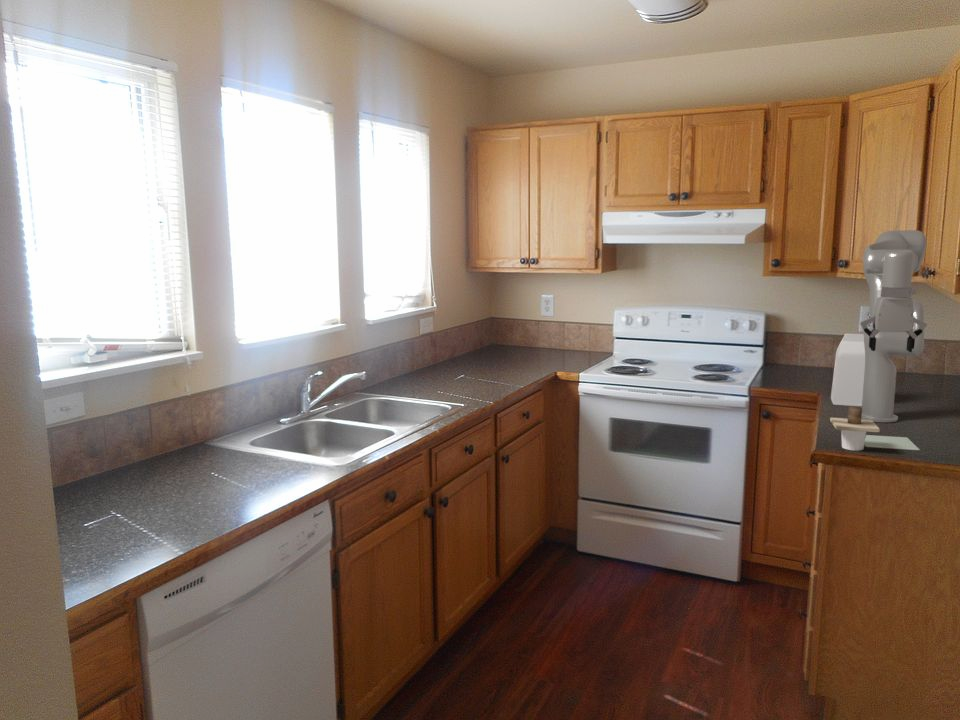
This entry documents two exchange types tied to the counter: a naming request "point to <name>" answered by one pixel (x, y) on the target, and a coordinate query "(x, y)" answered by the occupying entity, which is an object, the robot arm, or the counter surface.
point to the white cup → (853, 439)
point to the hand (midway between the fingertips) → (890, 350)
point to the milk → (849, 371)
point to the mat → (889, 442)
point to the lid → (854, 422)
